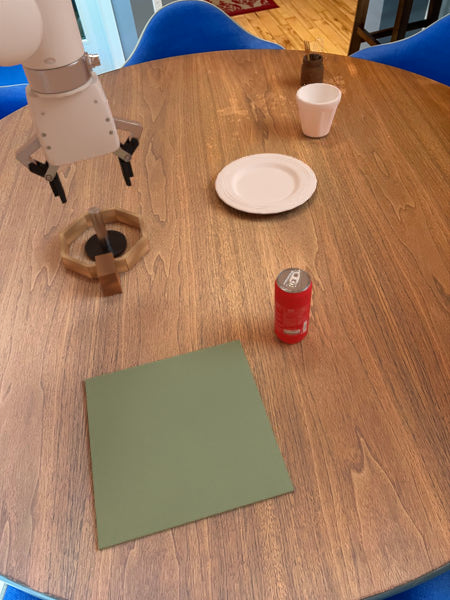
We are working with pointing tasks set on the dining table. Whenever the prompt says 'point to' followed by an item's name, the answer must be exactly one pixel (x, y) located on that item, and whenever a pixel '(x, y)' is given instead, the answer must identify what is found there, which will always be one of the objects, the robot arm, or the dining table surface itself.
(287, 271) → the beverage can
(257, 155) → the plate
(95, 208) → the post stand
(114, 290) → the hoop
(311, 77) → the utensil holder
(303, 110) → the cup
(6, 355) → the dining table surface
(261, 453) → the mat
